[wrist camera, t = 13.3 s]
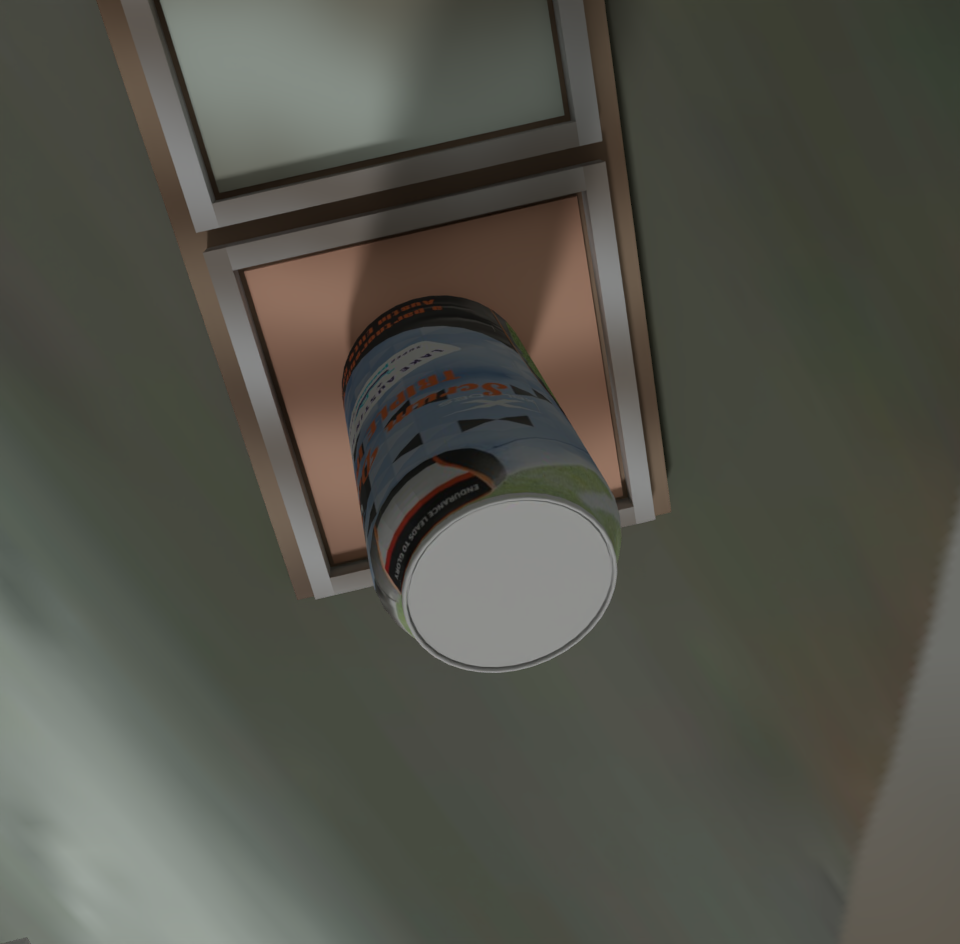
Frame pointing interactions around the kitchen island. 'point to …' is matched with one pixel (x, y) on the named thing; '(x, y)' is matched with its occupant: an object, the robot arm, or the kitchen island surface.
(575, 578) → the beverage can
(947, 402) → the kitchen island surface
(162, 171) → the framed panel board
